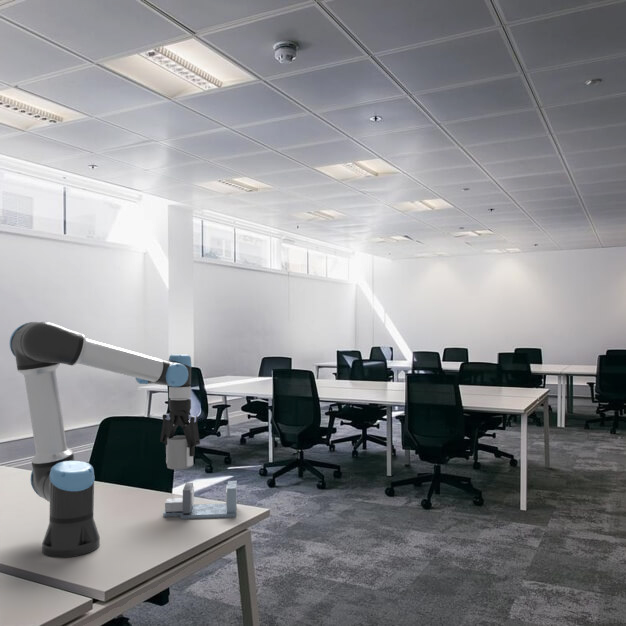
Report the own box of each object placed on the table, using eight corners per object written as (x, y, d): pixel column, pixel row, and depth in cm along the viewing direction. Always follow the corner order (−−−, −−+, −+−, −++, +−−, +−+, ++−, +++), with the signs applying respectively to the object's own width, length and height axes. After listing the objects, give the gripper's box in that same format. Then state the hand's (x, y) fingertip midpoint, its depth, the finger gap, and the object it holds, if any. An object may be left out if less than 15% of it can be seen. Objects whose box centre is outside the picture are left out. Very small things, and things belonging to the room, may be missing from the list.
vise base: (235, 517, 195) (236, 489, 196) (161, 519, 193) (162, 491, 193) (236, 506, 207) (236, 480, 208) (166, 508, 205) (167, 482, 205)
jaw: (191, 513, 195) (191, 490, 195) (164, 514, 194) (164, 491, 194) (194, 504, 205) (194, 482, 205) (168, 505, 204) (168, 483, 204)
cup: (196, 466, 206) (196, 437, 206) (177, 470, 199) (177, 440, 199) (181, 462, 211) (181, 434, 211) (162, 467, 204) (162, 438, 205)
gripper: (211, 399, 204) (210, 465, 204) (164, 396, 214) (163, 459, 213) (197, 401, 198) (197, 469, 197) (149, 398, 207) (149, 463, 206)
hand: (179, 464), depth 205 cm, fingers closed on cup, 8 cm apart
